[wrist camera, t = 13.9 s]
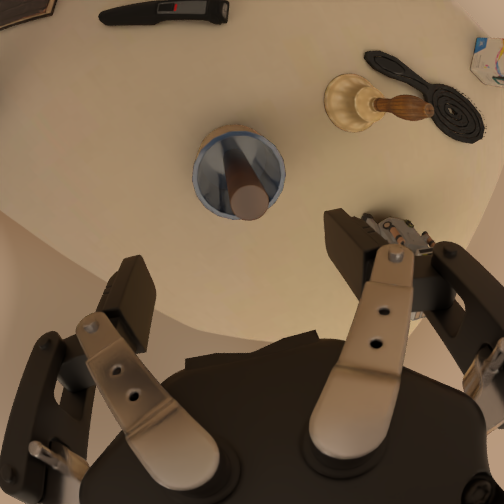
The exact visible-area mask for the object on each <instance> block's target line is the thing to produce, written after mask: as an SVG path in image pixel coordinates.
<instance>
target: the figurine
mask: <svg viewBox="0 0 504 504" xmlns="http://www.w3.org/2000/svg"><path fill="white" fill-rule="evenodd" d="M362 220H364V221H365V222H366V223H368V224H369V225H370V227H372V228H373V229H374V230H375V232H377V233H379V234H380V235H381V236H382V237H383V238H384V239H385V240H386V241H387V242H388V243H389V244H400V245H404V246H406V247H408V248H410V249H411V250H412V251H413V253H414V256H419V255H432V251H433V246H434V245H435V244H436V243H435V242H434V241H433V240H432V238H431V237H430V236H429V235H428V233H427V232H426V231H425V232H423V233H422V236H420V235H419V234H418V233H417V231H416V230H415V229H414V228H413V227H414V225H413V224H412V223H411V221H410V220H406V219H405V220H402V219H397V218H392V217H388V218H387V219H385V220H383V221H382V222H380V223H378V225H377V223H376V222H375V221H374V220H373V217H372V216H371V215H370V214H364V215H363V216H362ZM427 244H429V246H430V247H428V245H427ZM425 317H426V316H425V314H424V313H423V311H422V312H411V319H410V320H412V321H414V320H418V319H421V318H425Z"/></svg>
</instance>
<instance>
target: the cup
mask: <svg viewBox="0 0 504 504" xmlns="http://www.w3.org/2000/svg"><path fill="white" fill-rule="evenodd" d="M231 149H238V150H240V151H242V152H243V153H244V155H245V156H246V158H247V160H248V162H249V163H250V165H251V167H252V168H253V170H254V172H255V174H256V175H257V177H258V179H259V181H260V182H261V184H262V186H263V187H264V189H265V191H266V193H267V195H268V198H269V206H268V208H270V207H271V206H272V205H273V204H274V203H275V202H276V200H277V199H278V197H279V195H280V194H281V192H282V190H283V187H284V182H285V177H286V172H285V166H284V160H283V158H282V156H281V155H280V153H279V151H278V149H277V148H276V146H275V145H274V144H272V143H271V142H270V141H269V140H267V139H266V138H265V137H264V136H262V135H261V134H259V133H258V132H256V131H255V130H253V129H252V128H249V127H246V126H243V125H239V124H238V125H236V124H232V125H225V126H222V127H219V128H217V129H215V130H213V131H212V132H211V133H210V134H208V135H207V137H206V138H205V139H204V140H203V142H202V144H201V146H200V148H199V150H198V153H197V156H196V159H195V162H194V166H193V176H192V182H193V185H194V189H195V192H196V195H197V197H198V198H199V200H200V201H201V202H202V204H203V205H204V206H205V207H206V208H207V209H208V210H210V211H211V212H213V213H214V214H216V215H217V216H220V217H224V218H228V219H232V220H238V219H240V218H238V217H237V216H236V215H235V214H234V213H233V211H232V209H231V206H230V200H229V194H228V188H227V182H226V176H225V170H224V164H223V157H224V155H225V153H226V152H227V151H229V150H231Z"/></svg>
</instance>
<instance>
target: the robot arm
mask: <svg viewBox="0 0 504 504" xmlns="http://www.w3.org/2000/svg"><path fill="white" fill-rule="evenodd" d="M324 230H325V244H326V250H327V253H328V255H329V257H330V259H331V260H332V262H333V263H334V265H335V266H336V268H337V269H338V270H339V272H340V273H341V275H342V276H343V278H344V279H345V281H346V282H347V284H348V285H349V287H350V288H351V290H352V291H353V293H354V294H355V296H356V297H357V299H358V300H359V304H358V307H357V310H356V313H355V316H354V319H353V322H352V325H351V328H350V330H349V333H348V336H347V339H346V341H343V340H338V339H319V337H318V335H317V332H316V330H313V331H309V332H305V333H302V334H298V335H294V336H290V337H286V338H283V339H281V340H279V341H276V342H274V343H272V344H270V345H268V346H266V347H264V348H261V349H259V350H257V351H255V352H251V353H214V354H210V355H204V356H198V357H193V358H187V359H185V369H183V370H181V371H179V372H177V373H175V374H173V375H172V376H170V377H169V378H167V379H166V380H165V381H163V382H162V383H161V384H160V383H159V382H158V381H157V380H156V379H155V377H154V376H153V375H152V374H151V372H150V371H149V370H148V369H147V368H146V367H145V365H144V364H143V363H142V362H141V360H140V359H139V358H138V356H137V355H136V354H138V353H145V352H146V351H147V345H148V338H149V333H150V327H151V322H152V316H153V311H154V306H155V301H156V289H155V285H154V282H153V280H152V278H151V276H150V273H149V271H148V269H147V267H146V264H145V262H144V260H143V258H142V256H141V255H136V256H132V257H128V258H125V259H123V261H122V263H121V266H120V268H119V270H118V271H117V272H116V273H115V274H114V275H113V276H112V277H111V278H110V279H109V281H108V283H107V286H106V289H105V290H104V293H103V295H102V297H101V300H100V302H99V304H98V307H97V309H96V312H94V313H91V314H89V315H87V316H86V317H84V318H83V319H82V320H81V321H80V322H79V324H78V325H77V328H76V334H75V335H73V336H70V337H68V338H66V339H62V338H61V337H60V335H59V334H58V333H57V332H55V331H51V332H48V333H46V334H44V335H42V336H41V337H40V338H39V339H38V340H37V342H36V343H35V345H34V348H33V350H32V352H31V355H30V357H29V360H28V362H27V365H26V368H25V370H24V373H23V376H22V379H21V381H20V384H19V387H18V390H17V394H16V397H15V399H14V403H13V406H12V409H11V413H10V416H9V420H8V424H7V428H6V432H5V436H4V441H3V445H2V450H1V455H0V487H1V488H2V490H3V491H4V492H5V493H6V494H8V495H10V496H12V497H14V498H16V499H18V500H20V501H22V502H24V503H25V504H504V491H503V490H502V489H501V487H499V485H498V484H497V483H496V482H495V480H494V479H493V478H492V475H491V473H490V469H489V464H488V459H487V458H488V457H487V445H486V437H487V435H488V434H489V433H491V432H492V431H494V430H495V429H497V428H498V429H504V287H503V286H502V285H501V284H500V283H499V282H498V281H497V280H496V279H495V278H494V277H493V276H492V275H491V274H490V273H489V272H488V271H487V270H486V269H485V268H484V267H483V266H482V265H481V264H480V263H479V262H478V261H477V260H476V259H474V258H473V257H472V256H471V255H470V254H469V253H468V252H467V251H466V250H465V249H464V248H462V247H461V246H460V245H458V244H456V243H453V242H448V241H442V242H438V243H436V244H435V245H434V246H433V251H432V255H419V256H414V253H413V251H412V250H411V249H410V248H408V247H406V246H404V245H400V244H389V243H388V242H387V241H386V240H385V239H384V238H383V237H382V236H381V235H380V234H379V233H377V232H375V230H374V229H373V228H372V227H370V225H369V224H368V223H366V222H365V221H364V220H362V219H360V218H357V217H355V216H354V217H351V216H349V215H348V214H347V213H346V212H345V211H344V210H343V209H342V208H339V209H334V210H329V211H325V212H324ZM456 293H457V294H458V295H459V296H460V297H461V298H462V300H463V301H464V304H465V311H464V310H463V308H462V307H461V306H460V305H459V303H458V302H457V301H456V300H455V296H456ZM422 311H423V313H424V314H425V316H426V317H427V319H428V320H429V321H430V323H431V325H432V326H433V327H434V329H435V330H436V332H437V333H438V335H439V336H440V338H441V339H442V341H443V342H444V344H445V345H446V347H447V349H448V350H449V351H450V353H451V355H452V356H453V358H454V360H455V361H456V363H457V365H458V366H459V368H460V369H461V371H462V373H463V374H464V378H463V389H464V392H465V393H464V392H462V391H460V390H457V389H455V388H452V387H450V386H448V385H445V384H443V383H440V382H438V381H436V380H434V379H431V378H429V377H427V376H424V375H422V374H420V373H417V372H415V371H413V370H411V369H408V368H406V367H404V366H403V362H404V357H405V352H406V346H407V340H408V333H409V327H410V319H411V312H422ZM57 380H58V381H59V382H60V383H61V384H62V386H63V387H64V388H63V393H62V397H61V401H60V405H58V403H57V402H56V400H55V398H54V389H55V385H56V381H57ZM96 385H97V387H98V389H99V391H100V393H101V395H102V397H103V398H104V400H105V402H106V403H107V405H108V407H109V409H110V410H111V412H112V414H113V415H114V417H115V419H116V421H117V422H118V424H119V425H120V427H121V429H122V431H121V432H120V433H119V434H118V435H117V436H116V438H115V439H114V440H113V441H112V442H111V443H110V445H109V446H108V447H107V448H106V449H105V451H104V452H103V453H102V454H101V455H100V457H99V458H98V459H97V460H96V461H95V462H94V463H93V465H92V466H91V467H89V464H88V463H87V461H86V458H87V447H88V438H89V429H90V421H91V414H92V407H93V401H94V395H95V388H96Z"/></svg>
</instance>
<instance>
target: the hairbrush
mask: <svg viewBox="0 0 504 504" xmlns="http://www.w3.org/2000/svg"><path fill="white" fill-rule="evenodd" d="M376 56H381V57H376ZM364 59H365V60H366V61H367V63H368V64H369V65H370V66H371V67H372V68H373V69H375V70H377V71H379V72H380V73H382V74H384V75H386V76H388V77H391V78H394V79H397V80H399V81H402V82H405V83H407V84H409V85H411V86H412V87H414V88H416V89H417V90H419V91H420V92H422V93H423V96H424V99H425V101H426V102H427V103H430V104H431V105H432V106H433V107H434V115H433V116H432V117H431V118H432V119H433V121H434V123H435V124H436V126H437V127H438V128H439V129H440V130H441V131H442V132H444V133H445V134H446V135H448V136H449V137H451V138H453V139H455V140H457V141H461V142H465V143H471V144H473V143H475V142H476V141H478V140H480V139H482V138H483V133H484V129H485V127H484V124H483V120H482V117H481V115H480V113H479V112H478V111H477V110H476V108H477V107H476V108H475V107H474V106H473V105H472V103H471V102H470V101H469V100H468V98H465V97H464V96H463V95H462V94H463V93H462V94H460V93H459V92H460V91H458V90H457V89H454V88H453V87H452V88H451V86H450V87H449V86H448V85H444V84H430V83H428V82H426V81H425V80H424V79H423V78H421V77H420V76H419V75H417V74H416V73H415V72H413V71H412V70H411V69H410V68H409V67H407V66H406V65H405V64H404V63H403V62H401V61H400V60H399V59H398V58H396V57H394V56H391V55H389V54H387V53H384V52H382V51H368V52H365V56H364ZM395 74H397V75H395ZM398 75H401V76H398ZM402 76H404V77H402ZM406 77H408V78H406ZM410 78H411V79H410ZM439 89H444V90H439ZM450 92H451V93H450ZM446 96H447V97H446ZM465 96H466V95H465ZM448 97H449V98H448ZM469 99H470V98H469ZM446 103H449V104H446ZM450 104H451V105H450ZM448 108H451V109H452V110H453V111H454V112H455V113H454V115H453V114H452V113H451V114H450V112H449V110H448ZM453 111H452V112H453ZM479 111H480V110H479ZM452 118H453V119H452ZM455 119H457V120H455ZM484 120H485V119H484ZM449 122H450V123H452V124H450V123H449ZM455 125H457V126H455ZM486 127H487V126H486ZM448 128H449V129H450V130H449V129H448ZM486 129H487V128H486ZM451 130H452V131H451ZM453 131H454V132H453ZM455 132H458V133H455ZM459 133H464V134H459ZM485 133H486V132H485Z"/></svg>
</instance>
